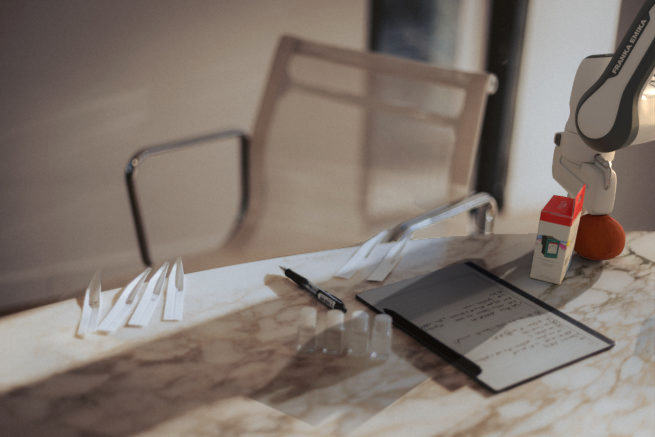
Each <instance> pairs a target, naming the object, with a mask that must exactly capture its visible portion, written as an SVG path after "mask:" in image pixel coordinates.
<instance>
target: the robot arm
mask: <svg viewBox="0 0 655 437" xmlns="http://www.w3.org/2000/svg"><path fill="white" fill-rule="evenodd" d="M632 20H633V21H632V22H631V24H630V26H629V28H628V30H627V31H626V33H625V34H624V36H623V38H622V39H621V41H620V43H619V45H618V47H617V48H616V50H615V52H614V53H613V52H612V53H599V54H590V55H587V56H586V57H584V58H583V59H582V60H581V61H580V63H579V65H578V67H577V69H576V71H575V76H574V80H573V82H572V87H571V91H570V97H569V105H568V106H569V116H568V119H567V120H566V123H565V126H564V131H558V132H557V131H556V132H555V133H554V136H553V144H554V145H555V146H554V149H553V155H552V164H551V175H552V179H553V180H554V181H555V182H556V183H557V184H558V185H559V186H560V187H561V188H562V189H563V190H564V191H565V192H566V193H567V194H566V197H569V198H575V197H576V195H577V194H578V192H579V191H580V189H581V188H582V187H583V185H584V184H586V186H585V194H584V200H583V206H582V211H581V216H582V215H585V214H586V212H587V214H588V213H589V214H591V215H609V216H610V214H612V212H613V209H614V206H615V201H616V200H615V199H616V191H617V181H618V179H617V178H618V177H617V174H616V172H615V171H614V169H613V167H612V166H613V164H612V161H614V159H615V154H616V151H619V150H622V149H625V148H628V147H630V146H636V145H641V144H645V143H649V142H654V141H655V0H644V3H643V4H642V6H641V7H640V9H639V10H638V12H637V14H636V15H635V17H634V19H632ZM579 199H580V198H579Z"/></svg>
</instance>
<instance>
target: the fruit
mask: <svg viewBox="0 0 655 437" xmlns="http://www.w3.org/2000/svg"><path fill="white" fill-rule="evenodd" d="M626 237H627V235H626V233H625V230H624V228H623V226H622V225H621V224H620V223H619V222H618V221H617V220H616V219H615V218H613V217H612V216H611V215H610V214H609V215H591V214H589V213H588V212H587V213H584V215H582V216H580V220H579V225H578V230H577V235H576V240H575V245H574V250H573V252H575V253H576V254H578V255H579V256H580V257H583V258H585V259H587V260H591V261H607V260H612V259H614V258H615V259H616V257H618V256H620V255H621V254H622V253H623V251H624V249H625V247H626V240H627V239H626Z"/></svg>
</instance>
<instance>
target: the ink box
mask: <svg viewBox="0 0 655 437" xmlns="http://www.w3.org/2000/svg"><path fill="white" fill-rule="evenodd" d="M585 186H586V184H584V185H583V187H582V188H581V189H580V191H579V192H578V194H577V195H576V197H575V198H569V197H567V196H564V195H558V194H553V195H552V196H551V198H550V199H549V200H548V201H547V203H546V204H545V205H544V207H543V208H542V209H541V210H540V214H539V219H538V220H539V221H538V228H537V234H536V239H535V244H534V251H533V257H532V261H531V262H532V263H531V267H530V274H529V278H531V279H534V280H539V281H542V282H547V283H551V284H553V285H561V284H562V282H563V280H564V277H565V276H566V275H567V274H566V273H567V272H568V270H569V269H570V266H571V264H572V259H573V254H574V245H575V240H576V235H577V230H578V225H579V220H580V216H581V211H582V206H583V200H584V194H585ZM579 198H580V199H579Z"/></svg>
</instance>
